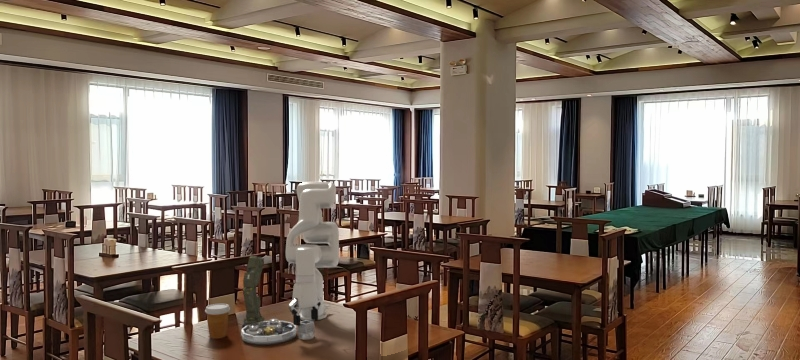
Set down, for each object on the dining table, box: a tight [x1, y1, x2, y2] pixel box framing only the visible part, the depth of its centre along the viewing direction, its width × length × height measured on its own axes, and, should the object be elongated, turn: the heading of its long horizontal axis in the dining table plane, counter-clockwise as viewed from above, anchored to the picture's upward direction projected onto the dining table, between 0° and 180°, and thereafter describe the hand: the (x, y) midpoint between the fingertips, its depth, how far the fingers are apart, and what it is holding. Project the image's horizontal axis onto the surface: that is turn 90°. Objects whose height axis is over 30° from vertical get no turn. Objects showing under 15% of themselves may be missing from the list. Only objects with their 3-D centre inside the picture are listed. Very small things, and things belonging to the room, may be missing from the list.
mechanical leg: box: [241, 255, 265, 329], centre depth 249 cm, size 14×7×30 cm, turn 168°
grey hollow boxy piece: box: [297, 320, 315, 341], centre depth 231 cm, size 6×6×6 cm
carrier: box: [240, 318, 298, 346], centre depth 232 cm, size 21×21×5 cm
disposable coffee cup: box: [204, 303, 231, 339], centre depth 233 cm, size 10×10×12 cm
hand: (305, 322), depth 230 cm, fingers open, 9 cm apart
